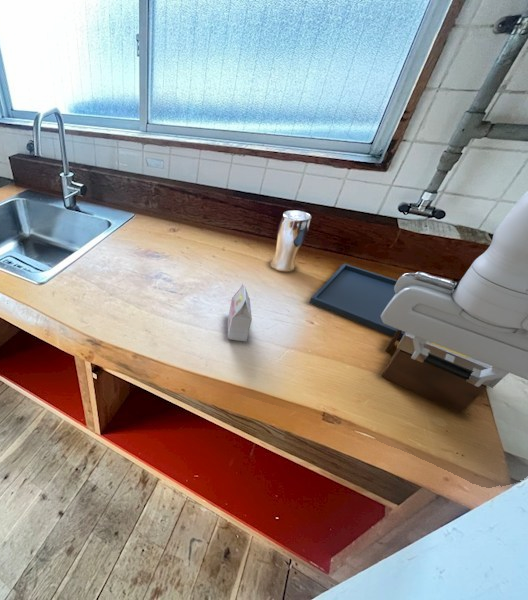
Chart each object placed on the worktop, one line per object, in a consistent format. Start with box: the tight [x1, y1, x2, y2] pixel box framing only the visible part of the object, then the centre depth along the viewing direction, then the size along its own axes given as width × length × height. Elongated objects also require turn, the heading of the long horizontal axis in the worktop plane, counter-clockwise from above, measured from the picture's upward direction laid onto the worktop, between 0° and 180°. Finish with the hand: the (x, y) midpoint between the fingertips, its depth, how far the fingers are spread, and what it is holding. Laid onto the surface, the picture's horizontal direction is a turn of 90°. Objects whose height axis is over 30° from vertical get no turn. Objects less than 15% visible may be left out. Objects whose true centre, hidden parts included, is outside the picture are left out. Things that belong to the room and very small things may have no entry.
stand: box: [381, 329, 488, 415], centre depth 56 cm, size 14×11×8 cm
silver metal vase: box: [270, 209, 312, 273], centre depth 85 cm, size 7×7×15 cm
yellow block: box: [430, 342, 468, 358], centre depth 53 cm, size 5×2×1 cm, turn 44°
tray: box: [308, 263, 405, 341], centre depth 74 cm, size 28×22×2 cm
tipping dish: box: [396, 332, 505, 389], centre depth 53 cm, size 12×19×3 cm, turn 134°
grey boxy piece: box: [227, 283, 253, 342], centre depth 67 cm, size 4×7×10 cm, turn 166°
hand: (443, 369), depth 49 cm, fingers open, 5 cm apart
